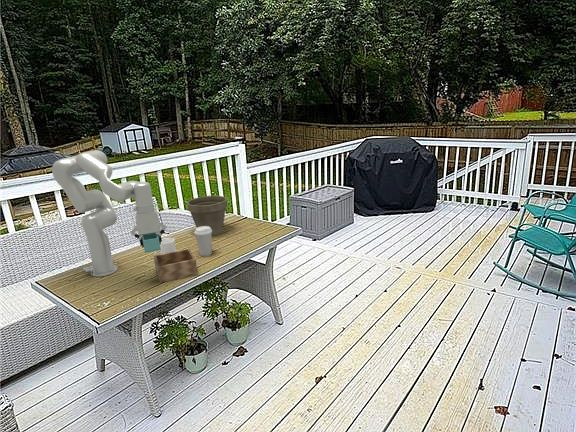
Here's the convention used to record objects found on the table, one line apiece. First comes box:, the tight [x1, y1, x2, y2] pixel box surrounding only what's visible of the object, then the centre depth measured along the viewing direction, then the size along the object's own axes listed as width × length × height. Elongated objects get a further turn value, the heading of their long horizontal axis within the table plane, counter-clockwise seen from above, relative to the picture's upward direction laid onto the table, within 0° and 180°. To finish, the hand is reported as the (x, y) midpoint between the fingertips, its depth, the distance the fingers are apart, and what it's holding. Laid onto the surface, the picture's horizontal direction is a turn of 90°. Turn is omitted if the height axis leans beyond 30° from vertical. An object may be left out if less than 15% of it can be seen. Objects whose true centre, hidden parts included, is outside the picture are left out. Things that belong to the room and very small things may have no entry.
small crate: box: [142, 233, 161, 254], centre depth 186 cm, size 7×11×6 cm, turn 23°
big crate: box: [153, 248, 198, 284], centre depth 198 cm, size 18×16×8 cm
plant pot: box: [186, 195, 228, 237], centre depth 250 cm, size 25×25×22 cm
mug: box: [153, 237, 177, 256], centre depth 214 cm, size 12×8×10 cm
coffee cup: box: [194, 226, 213, 257], centre depth 218 cm, size 10×10×15 cm
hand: (151, 244), depth 187 cm, fingers closed on small crate, 7 cm apart
